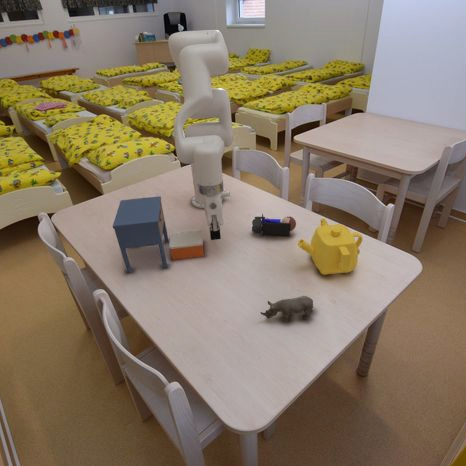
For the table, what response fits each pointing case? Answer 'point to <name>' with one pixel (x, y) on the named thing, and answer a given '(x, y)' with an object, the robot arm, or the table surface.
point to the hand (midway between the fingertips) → (215, 238)
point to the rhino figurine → (290, 307)
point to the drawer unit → (139, 226)
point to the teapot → (333, 248)
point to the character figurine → (273, 226)
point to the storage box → (186, 245)
